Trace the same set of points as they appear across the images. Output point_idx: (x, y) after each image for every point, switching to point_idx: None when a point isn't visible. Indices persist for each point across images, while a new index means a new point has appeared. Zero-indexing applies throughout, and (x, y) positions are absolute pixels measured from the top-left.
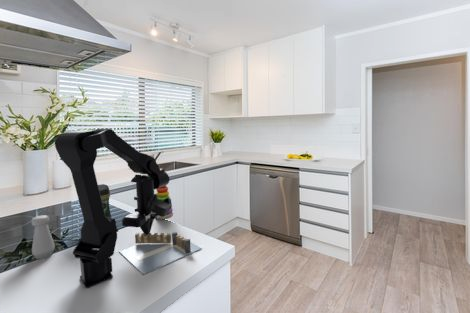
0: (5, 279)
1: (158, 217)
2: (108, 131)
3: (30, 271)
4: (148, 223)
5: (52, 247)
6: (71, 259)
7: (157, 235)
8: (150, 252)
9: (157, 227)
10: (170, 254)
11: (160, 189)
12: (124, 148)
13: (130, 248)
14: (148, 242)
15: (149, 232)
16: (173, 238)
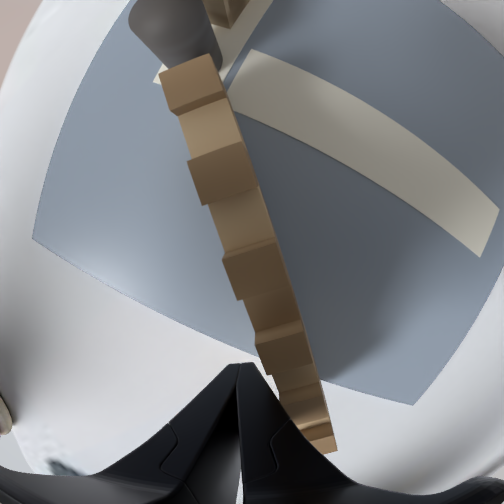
0: (501, 467)
1: (3, 414)
2: None
3: (485, 470)
4: (311, 487)
5: None
6: (448, 469)
7: (248, 240)
8: (413, 186)
9: (46, 384)
10: (374, 18)
11: None
12: None
13: (377, 378)
14: (298, 306)
15: (230, 379)
16: (210, 30)
